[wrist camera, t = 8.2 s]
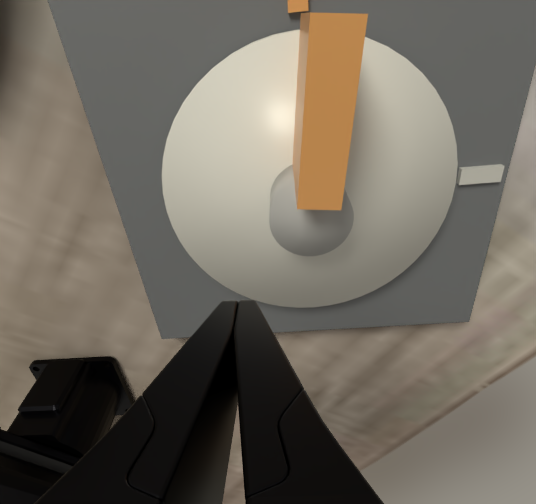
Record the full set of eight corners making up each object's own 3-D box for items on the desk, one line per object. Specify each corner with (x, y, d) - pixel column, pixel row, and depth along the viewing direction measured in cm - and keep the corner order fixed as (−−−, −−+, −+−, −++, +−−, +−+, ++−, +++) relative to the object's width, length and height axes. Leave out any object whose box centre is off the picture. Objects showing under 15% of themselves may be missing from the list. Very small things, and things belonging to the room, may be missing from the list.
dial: (412, 299, 23) (448, 372, 18) (182, 293, 23) (158, 365, 18) (494, 17, 15) (593, 19, 10) (144, 10, 15) (86, 7, 10)
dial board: (459, 306, 25) (471, 324, 24) (167, 323, 26) (160, 342, 25) (551, -90, 14) (583, -102, 13) (55, -30, 16) (32, -34, 14)
